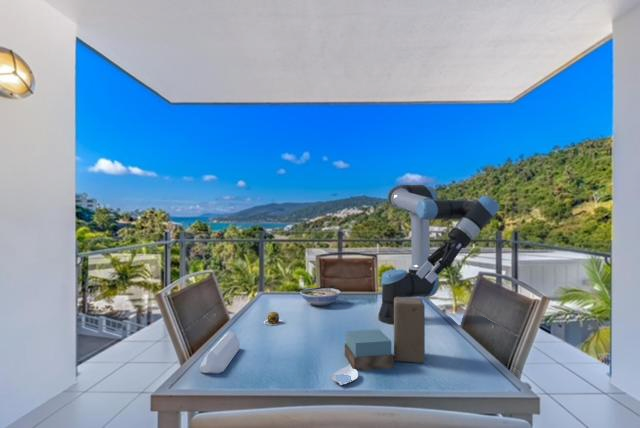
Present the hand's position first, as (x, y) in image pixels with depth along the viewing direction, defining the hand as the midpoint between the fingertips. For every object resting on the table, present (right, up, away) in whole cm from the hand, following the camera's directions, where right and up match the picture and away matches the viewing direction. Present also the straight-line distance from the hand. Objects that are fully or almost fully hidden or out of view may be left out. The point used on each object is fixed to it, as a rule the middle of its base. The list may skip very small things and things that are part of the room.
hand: (423, 278), depth 124 cm
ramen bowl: (-36, -28, +73) cm, 87 cm away
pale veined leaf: (-29, -28, -19) cm, 44 cm away
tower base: (-20, -28, -5) cm, 35 cm away
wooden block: (-5, -27, -2) cm, 28 cm away
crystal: (-70, -28, -4) cm, 75 cm away
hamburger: (-58, -29, +39) cm, 76 cm away
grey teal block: (-20, -23, -5) cm, 31 cm away
